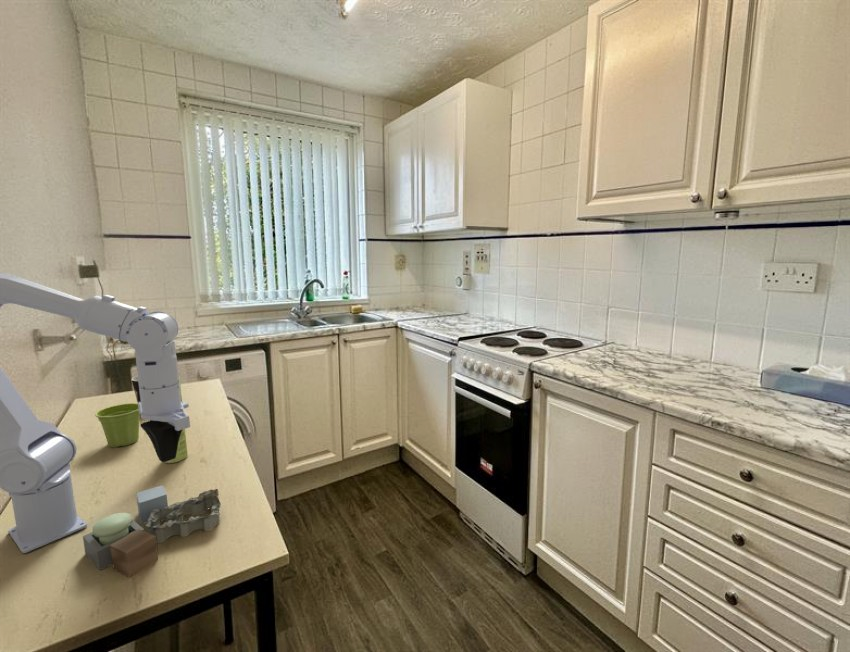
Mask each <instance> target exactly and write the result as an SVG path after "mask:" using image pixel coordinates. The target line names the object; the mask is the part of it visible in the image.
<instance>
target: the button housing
mask: <svg viewBox="0 0 850 652" xmlns="http://www.w3.org/2000/svg"><path fill="white" fill-rule="evenodd" d="M138 529H140V530H143V531H145V529H144V528H143V527H142V526H141V525H140V524H138V522H136V521H135V520H134V519H132V523H131V525H130V526H129V527H128V531H129V534H131V533H133V532H135V531H136V530H138ZM129 534H127V535H129ZM127 535H125V536H123V537H121V538H119V539H117V540H115V541H112V542H110V543H108V544H106V545H104V546H101V545H100V541H99V537H96V536H94V535H93V531H91V532H89V533H87V534H85V535H83V536H82V539H83V546H84V554H85V556H87V557H88V559H89V560H91V562H92V563H93V564H94V565H95V566H96V568H97V569H98V570H99V571H101V570H104V569H105V568H107V567H109V566H112V565H113V563H112V555H111V548H110V545H112V544H113V543H115V542H117V541H119V540H120V539H122V538H124V537H126V536H127Z"/></svg>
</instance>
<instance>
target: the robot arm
mask: <svg viewBox="0 0 850 652" xmlns="http://www.w3.org/2000/svg"><path fill="white" fill-rule="evenodd" d="M115 300H116V297H115V296H112V295H110V294H105V295H104V294H103V295H102V296H100V295H93V296H91V297H88V298H86V299H83V298H80V297H77V296H74V295H71V294H69V293H66V292H63V291H60V290H57V289H56V288H55V289H54V288H51V287H48V286H46V285H43V284H39V283H37V282H34V281H31V280H28V279H26V278H23V277H19V276H18V275H16V274H13V273H7V272H0V308H2V307H3V306H4V305H6V304H12V305H13V304H14V305H17V306H22V307H24V308H25V307H26V308H29V309H34V310H38V311H42V312H46V313H50V314H54V315H58V316H63V317H66V318H70V319H73V320H74V321H75V322H76V324H77V326H78V327H79V328H80V329H81V330H84V331H88V332H91V333H93V334H97V335H101V336H105V337H109V338H112V339H115V340H118V341H122V342H127V343H128V345H130V346H129V347H131V348H132V349H134V353H135V363H136V372H137V376H138V382H139V391H140V400H141V402H137V403H138V410H139V413H140V418H141V419H142V420H146V421H144V422H142V423H141V424H140V427H141V429H142V430H143V431H144V433H146V435H147V436H148V437H149V440H150V441H151V444H152V447H153V449H154V452H155V453H156V456H157V458H158V460H159V461H160V462H162V463H165V462H166V461H169V460H172V459H175V458H176V453H177V448H178V442H179V438H180V435H181V432H182V430H183V429H185V430H186V429H188V428H190V427H191V421H190V415H188V414H187V413H186V410H185V409H187V408H189V406H190V403H188V402H186V401H182V402H181V395H182V394H181V395H180V386H179V375H180V374H179V375H178V372H179V368H178V357H177V353H176V343H175V341H174V340H175V339H176V337H177V336H178V333H179V325H178V322H177V321H176V319H175V318H174V317H173V316H172V315H170V314H168V313H166V312H164V311H162V310H155V311H151V312H148V308H147V307H145V306H137V307H136V306H131V305H129V304H126V303H123V302H119V301H115ZM76 445H77V444H76V443H75V441H74V440H73V439H72V438H71V437H70V436H69V435H67V434H64V433H63V432H61V431H60V430H59V429H58V428H57V426H56V425H55V424H54V423H51V422H48V421H45V420H41V419H38V418H37V416H36V415H35V413H34V412H33V410H32V409H31V408H30V406H29V405H28V403H27V402H26V401H25V399H24V398H23V397H22V394H20V391H18V389H17V388H16V386H15V385H14V384H13V382H12V381H11V379H10V378H9V377H8V375H7V374H6V373H5V371H4V369H3V368H2V367H1V366H0V489H1V490H3V491H4V492H6V493H8V495H9V496H10V497H11V503H12V504H11V505H12V510H13V516H14V521H15V526H13V527H11V528H9V529H8V532H7V533H8V534H9V535H10V537H11V538H12V540H13V541H14V543H15V544H16V545H17V547H18V549H19V550H20V552H21V553H22V554H27V553H29V552H31V551H33V550H36V549H38V548H40V547H44V546H45V545H47V544H50V543H52V542H55V541H57V540H59V539H61V538H64V537H66V536H68V535H69V536H70V535H71V534H74V533H76V532H78V531H80V530H83V529H86V528H87V527H88V525H87V522H85V520H84V519H83V518H82V517H81V516H80V515H78V514H77V507H76V501H75V495H74V487H73V482H72V475H71V464H70V463H71V462H73V460H74V458H75V457H76V456H77V455H76V454H77V446H76Z"/></svg>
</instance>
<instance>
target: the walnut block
mask: <svg viewBox="0 0 850 652" xmlns="http://www.w3.org/2000/svg"><path fill="white" fill-rule="evenodd" d="M157 545H158V543H157V542H156V536H154V535H152V534H150V533H148V531H145V530H144V531H143V530H140V529H138V530H136V531H135V532H133V533H131V534H129V535H127V536H126V537H124V538H122V539H120V540H119V541H117V542H115V543H113V544H112V545H110V548H111V555H112V563H113V564H112V567H113V568H112V569H113V570H114V571H115V572H117V573H120V574H121V575H123V576H125V577H128V578H129V579H132V577H134V576H136V575H137V574H139V573H140V572H142V571H143V570H145V569H146V568H148V567H149V566H150V565H153V564H154V563H155V562H157V561H158V560H159V553H158V546H157Z"/></svg>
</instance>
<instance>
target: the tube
mask: <svg viewBox="0 0 850 652" xmlns="http://www.w3.org/2000/svg"><path fill="white" fill-rule="evenodd" d="M178 375H179V386H180V395H181V402H183V398H182V397H183V396H182V387H181V386H182V385H181V377H180V371H178ZM186 434H187V433H186V429H183V430H182V432H181V435H180V438H179V442H178V448H177V453H176V458H175V459H172V460H169V461H166V462H164V463H166V464H172V463H173V464H174V463H177V462H181V461H183V460H184V459H186V458H187V457H188V447H187V446H188V444H187V435H186Z"/></svg>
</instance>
